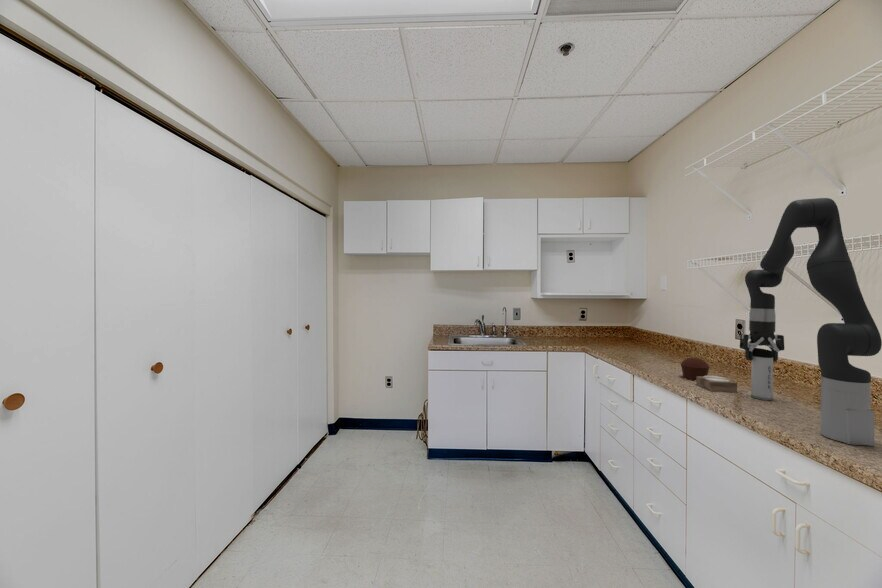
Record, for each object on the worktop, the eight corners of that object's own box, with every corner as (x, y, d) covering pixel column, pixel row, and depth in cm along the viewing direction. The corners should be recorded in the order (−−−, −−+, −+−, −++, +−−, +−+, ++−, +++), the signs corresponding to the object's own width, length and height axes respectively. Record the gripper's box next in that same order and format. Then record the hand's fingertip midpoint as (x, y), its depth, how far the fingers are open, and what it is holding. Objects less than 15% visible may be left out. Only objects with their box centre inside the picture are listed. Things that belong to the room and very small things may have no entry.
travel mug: (749, 394, 139) (749, 346, 139) (771, 398, 135) (772, 347, 134) (750, 398, 134) (751, 348, 134) (773, 401, 130) (774, 350, 130)
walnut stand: (737, 392, 142) (737, 381, 142) (710, 391, 143) (711, 380, 143) (720, 385, 152) (720, 375, 152) (696, 384, 153) (696, 375, 153)
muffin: (709, 383, 156) (709, 361, 156) (680, 379, 163) (680, 358, 163) (708, 378, 165) (709, 357, 165) (681, 374, 172) (681, 355, 172)
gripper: (749, 320, 131) (748, 362, 131) (790, 321, 129) (790, 363, 130) (735, 318, 139) (734, 358, 139) (774, 319, 137) (773, 359, 137)
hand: (761, 360), depth 134 cm, fingers open, 8 cm apart
